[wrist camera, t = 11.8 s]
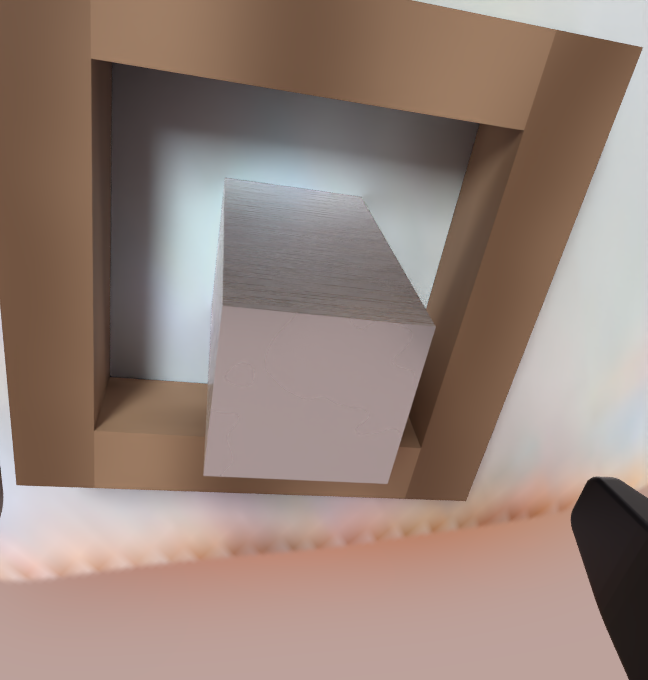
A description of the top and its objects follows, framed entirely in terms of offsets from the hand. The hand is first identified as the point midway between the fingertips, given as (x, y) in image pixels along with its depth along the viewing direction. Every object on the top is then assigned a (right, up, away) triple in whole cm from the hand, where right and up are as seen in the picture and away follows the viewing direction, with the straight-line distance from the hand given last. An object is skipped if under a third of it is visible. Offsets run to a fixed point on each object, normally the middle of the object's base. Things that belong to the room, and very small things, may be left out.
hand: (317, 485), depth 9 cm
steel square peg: (-1, +5, +8) cm, 9 cm away
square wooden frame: (-1, +5, +8) cm, 9 cm away
